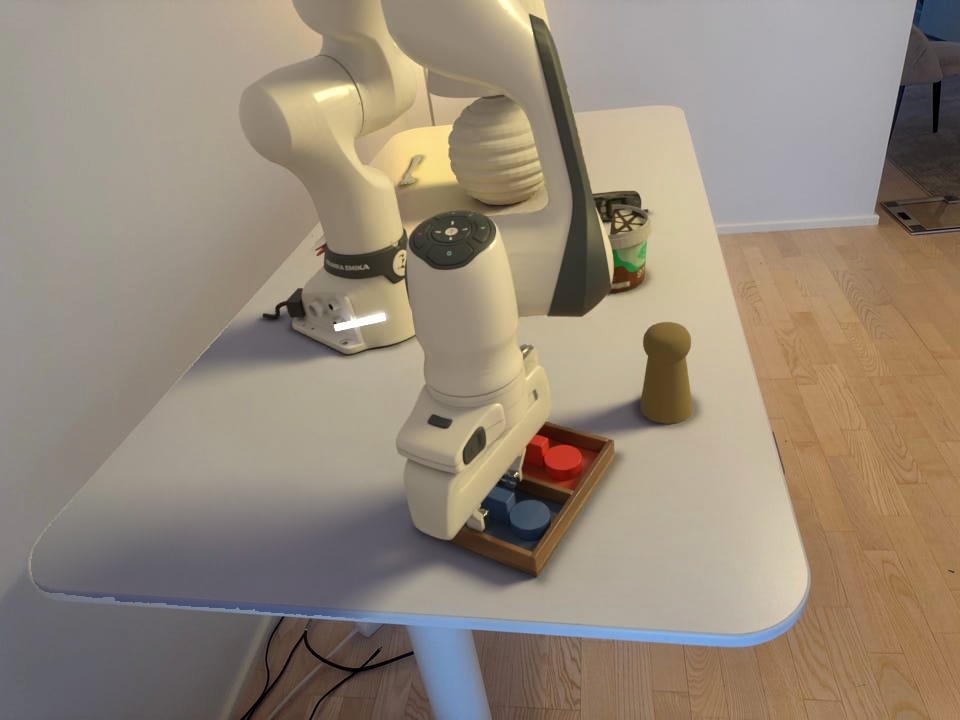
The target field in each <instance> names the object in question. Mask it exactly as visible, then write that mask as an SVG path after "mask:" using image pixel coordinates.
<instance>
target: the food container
mask: <svg viewBox="0 0 960 720" xmlns="http://www.w3.org/2000/svg"><path fill="white" fill-rule="evenodd" d="M643 210H644V209H642V208H641V209H639V208H637V207H633V206H629V205H612V220H610V221H611V222H610V231H609V234H607V235H608V238H609V241H610V244H611V248H612V254H613V261H614V273H613V280H612V283H611V290H610V291H609V293H610V294H617V293H623V292H628V291H630V290H634V289H636V288H638V287H639V286H640V285H642V284H643V282H644V281H645V273H646V262H647V261H646V260H647V249H648V248H647V247H648V239H649V238H650V236H651V235H652V233H653V227H652V224H651V223H652V222H651V219H650V217H649V215H648V214H647V213H646V212H645V211H643Z"/></svg>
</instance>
